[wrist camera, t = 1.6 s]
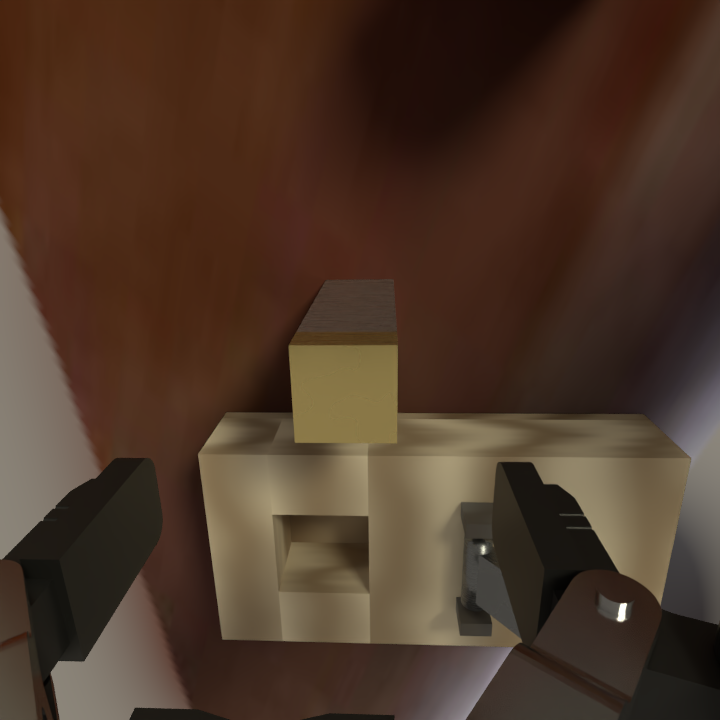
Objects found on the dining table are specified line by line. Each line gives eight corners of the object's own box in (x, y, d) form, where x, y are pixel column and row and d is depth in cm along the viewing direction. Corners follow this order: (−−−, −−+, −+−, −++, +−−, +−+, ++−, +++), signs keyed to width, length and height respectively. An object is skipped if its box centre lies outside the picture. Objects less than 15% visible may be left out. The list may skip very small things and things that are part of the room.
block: (643, 414, 30) (713, 478, 24) (614, 584, 34) (667, 679, 28) (226, 412, 31) (185, 473, 25) (244, 577, 35) (212, 666, 29)
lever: (705, 667, 19) (688, 689, 18) (685, 745, 21) (668, 769, 20) (477, 524, 27) (458, 535, 27) (473, 587, 29) (455, 599, 28)
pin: (393, 279, 28) (397, 345, 17) (393, 343, 30) (397, 443, 19) (326, 280, 28) (288, 345, 18) (328, 344, 30) (294, 442, 19)
